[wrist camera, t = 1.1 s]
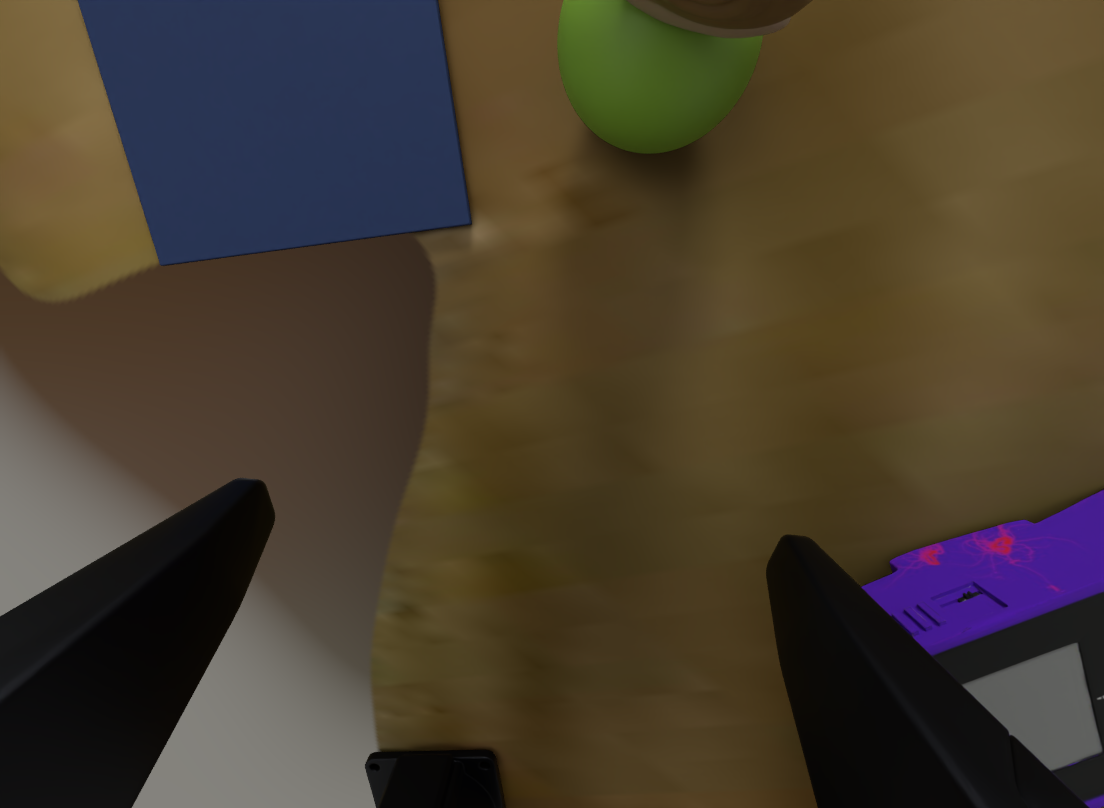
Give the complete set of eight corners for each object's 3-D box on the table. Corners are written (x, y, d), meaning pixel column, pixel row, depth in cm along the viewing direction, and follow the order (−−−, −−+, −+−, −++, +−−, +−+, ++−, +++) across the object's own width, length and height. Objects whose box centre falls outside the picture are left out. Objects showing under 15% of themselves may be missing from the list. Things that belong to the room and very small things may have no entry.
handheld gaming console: (1427, 715, 17) (979, 869, 18) (1220, 614, 22) (882, 739, 23) (1417, 471, 15) (912, 662, 16) (1191, 422, 20) (821, 569, 21)
